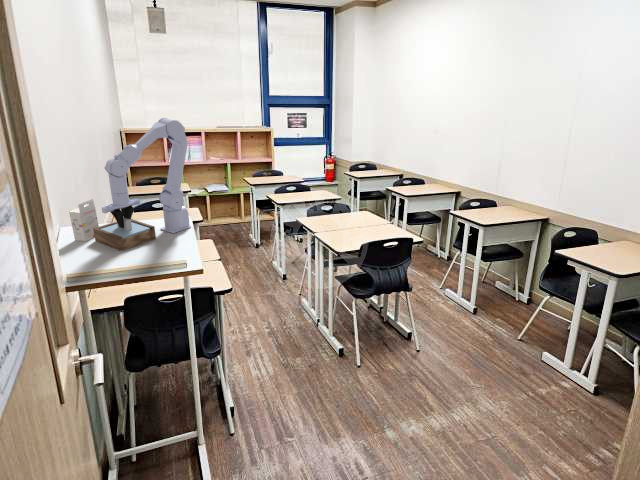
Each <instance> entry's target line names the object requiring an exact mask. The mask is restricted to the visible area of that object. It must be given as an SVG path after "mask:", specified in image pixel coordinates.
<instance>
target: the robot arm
mask: <svg viewBox="0 0 640 480" xmlns="http://www.w3.org/2000/svg"><path fill="white" fill-rule="evenodd" d="M185 131H186V128H185V127H184V125H183V124H182V123H181V122H180V121H179V120H177V119H170V118H168V117H161V118H159V120H158V121H157V122H155V123H154V124H153V125H152V127H150V129H148V131H147V132H145V133H144V134H143V135H142V136H141V137H140V138H139V139H138V140H137V141H136V142H135V143H134V144H128V145H127V144H126V145H124V146H123V149H122V150H121V151H120V152H119V153H118V154H114V155H113V158H110V159H108V160H107V161H106V162H105V165H104V170H105V171H106V172H107V173H108V180H109V182H108V183H109V188H110V194H111V200H112V201H111V202H112V203H110V204H108V205H105V206H103V207H101V213H103V214H108V213H111V215H112V217H114V219H115V222H117V223H118V225H119V227H120V228H124V221H123V217H124V218H128V219H132V217H133V214H134V212H135V207H133V206H136V205H138V206H139V205H141V199H139V198H133V199H130V197H129V189H128V182H127V176H126V175H127V174H128V171H129V168H130V167H131V166H132V165H133V164H134V163H136V162H137V161H138V160H139V159H140V158H141V157H142V151H144V150H145V149H146V148H148V147H149V146H150V145H152V144H153V143H154V142H155V141H157V140H158V139H165V138H167V139H168V141H169V142H170V143H171V144H172V147H171V155H170V160H169V167H168V172H167V179H166V183H165V184H164V185H163V187H162V190H161V192H160V194H159V195H158V197H159V199H158V200H159V202H160V203H161V205H162V211H163V212H162V213H163V219H164V220H163V221H164V226H163V227H160V230H162V231H165V232H168V233H170V234H176V233H178V232H181V231H184V230H187V229H189V228H192V226H191V225H190V218H189V216H190V215H189V211H188V208H187V207H186V206H185V205H184V204H185V200H184V192H183V189H182V187H181V186H182V181H183V173H184V167H185V162H186V156H187V150H188V138H187V135H186V132H185Z"/></svg>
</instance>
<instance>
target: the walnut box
mask: <svg viewBox="0 0 640 480" xmlns="http://www.w3.org/2000/svg"><path fill="white" fill-rule="evenodd" d="M131 222H133V223H136V224H139V225H142V226H145V227H148V228H150V230H149V231H146V232H143V233H140V234H137V235H134V236H131V237H128V238H125V239H122V237H121V236H118V235H116V234H113V233H110V232H107V231H105V230H102V229H101V228H105V227H108V226H112V225H115V224H117V221H114V222H110V223H107V224H103V225H99V227H96V228H93V230H94V236H95V237H94V241H95V242H97V243H99V244H102V245H105V246H106V247H109V248H113V249H114V250H118V251H120V252H122V251H125V250H129V249H131V248H135V247H137V246H141V245H143V244H145V243H148V242H151V241H154V240H156V239H157V237H156V228H155V226H154V225H150V224H148V223H146V222H141V221H138V220H136V219H133V218H131Z"/></svg>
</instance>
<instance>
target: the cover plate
mask: <svg viewBox="0 0 640 480" xmlns="http://www.w3.org/2000/svg"><path fill="white" fill-rule="evenodd" d="M131 219H132V218H131ZM131 219H128V218H124V216H123V221H124V228H120V227H119V225H118V223H117V224H115V225H112V226H108V227H105V228H101V229H102V230H105V231H107V232H110V233H113V234H116V235H118V236H121V237H122V239H125V238H128V237H131V236H134V235H137V234H140V233H143V232H146V231H149V230H150V228H148V227H145V226H142V225H139V224H136V223H133V222H131Z"/></svg>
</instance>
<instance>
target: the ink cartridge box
mask: <svg viewBox="0 0 640 480" xmlns="http://www.w3.org/2000/svg"><path fill="white" fill-rule="evenodd" d="M68 212H69V213H68V215H69V217H70V221H71V227H72V228H71V229H72V232H73V236H74V238H73V239H74V241H77V242H88V241H90V240H92V239H93V238H95V236H94V230H93V228H96V227H99V226H100V225H99V220H98V215H97V209H96V206H95V201H94V199H93V198H91V199H89V200H86V201H83V202H81V203H78V205H77V208H75V209H73V210H71V211H68Z"/></svg>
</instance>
